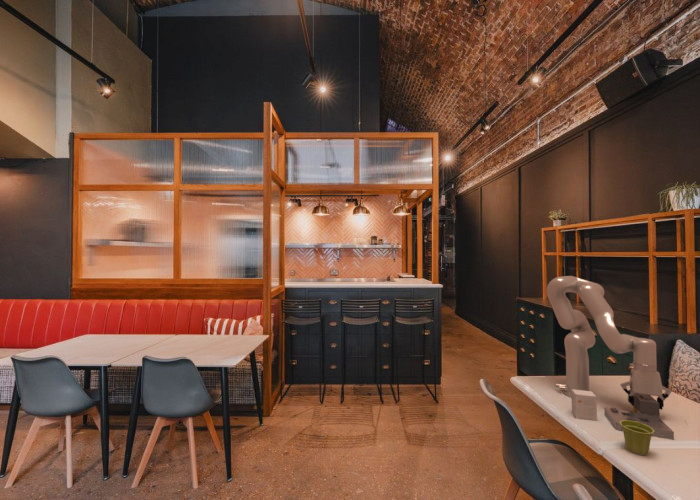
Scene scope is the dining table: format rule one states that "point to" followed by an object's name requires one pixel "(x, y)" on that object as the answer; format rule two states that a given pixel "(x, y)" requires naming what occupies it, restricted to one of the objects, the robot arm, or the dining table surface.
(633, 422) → the plant pot
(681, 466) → the dining table surface
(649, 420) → the socket
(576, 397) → the small box
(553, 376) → the dining table surface
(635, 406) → the plug
